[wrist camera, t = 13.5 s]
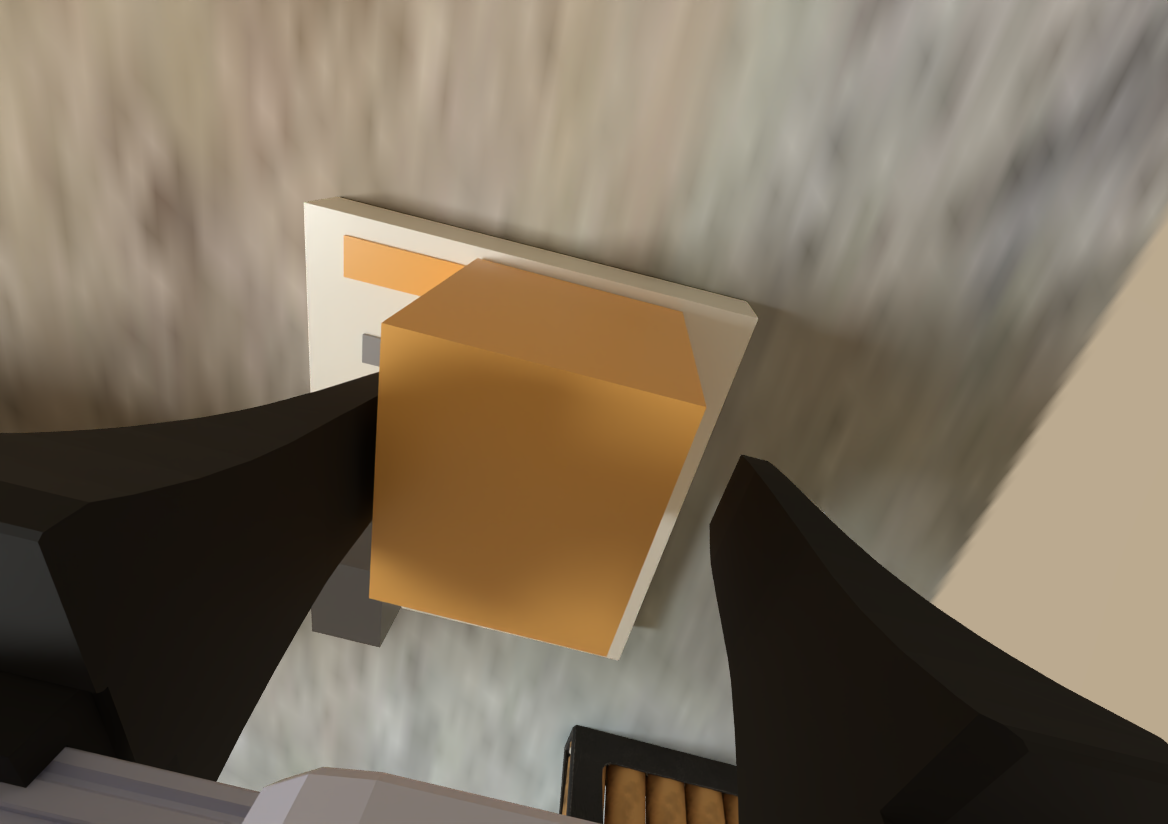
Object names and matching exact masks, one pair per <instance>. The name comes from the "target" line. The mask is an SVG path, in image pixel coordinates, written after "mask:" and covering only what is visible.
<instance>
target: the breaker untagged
mask: <svg viewBox="0 0 1168 824" xmlns="http://www.w3.org/2000/svg"><path fill="white" fill-rule="evenodd" d="M371 542H372V521H371V523H370V524H369V525H368V527H367V528H366V529H365V531H364V532H363V533H362V534H361V536H360V537H359V538H358V540H357V541H356V542H355V544H354V545H353V546H352V548H351V549H350V550H349V552H348V553H347V554H346V556H345V557H344V558H343V560H342V561H341V562H340V563H339V565H338V566H337V568H336V569H335V571H334V572H333V574H332V575H331V576H330V578H329V579H328V581H327V582H326V584H325V586H324V587H323V589H322V591H321V592H320V594H319V596H318V597H317V599H316V601H315V602H314V604H313V606H312V607H311V614H312V631H314V632H318V633H322V634H327V635H331V636H335V637H339V638H343V639H347V640H352V641H356V642H360V643H364V644H368V645H372V646H377V647H380V646H381V644H382V642H383V640H384V639H385V637H386V635H387V633H388V631H389V629H390V627H391V625H392V623H393V621H394V619H395V618H396V616H397V614H398V612H399V610H400V608H401V606H398V605H394V604H390V603H386V602H382V601H378V600H374V599H370V598H369V587H370V565H371Z"/></svg>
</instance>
